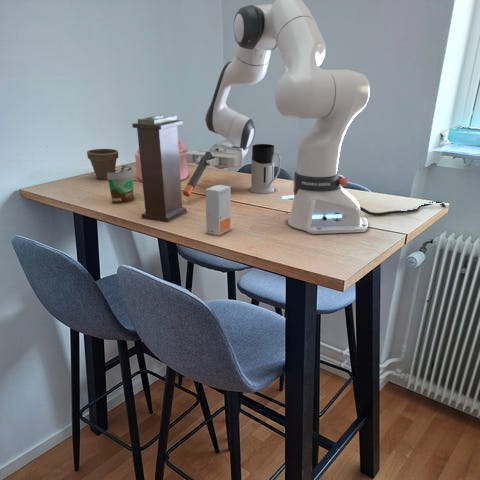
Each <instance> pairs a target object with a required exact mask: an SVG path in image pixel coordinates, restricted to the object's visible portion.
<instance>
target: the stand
mask: <svg viewBox="0 0 480 480" xmlns="http://www.w3.org/2000/svg"><path fill="white" fill-rule="evenodd" d="M131 125H132V129H136V132H137V140H138V149H139V152H140V162H141V172H142V180H141V182H142V190H143V191H142V192H143V201H144V209H145V211H144V212H143V213H141V219H145V220H152V221H157V222H165V223H169V222H171V221H172V220H174V219H176V218H179V217H180V216H181V215H183V214H185V213H187V209H188V208H187V207H183V198H182V197H183V193H182V180H181V178H180V162H179V145H178V140H179V132H178V126H182V125H184V120H183V119H182V120H179V119H178V116H177V115H169V116H165V117H164V114H158V115H153V116H146V117H142V118H137V122H135V123H132V124H131Z"/></svg>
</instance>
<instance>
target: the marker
mask: <svg viewBox="0 0 480 480" xmlns="http://www.w3.org/2000/svg"><path fill="white" fill-rule="evenodd" d="M211 157H212V154H211V153H210V152H206V153H205V155H204V157H203V158H202V160H201V162H200V164H199V165H197V166H196V168H195V171H193V173H192V176H191V177H190V179H189V181H188V183H187V184H186V186H185V188H184V189H183V191H182V196H184V197H187V198H188V197H190V196H191V195H192V193H193V191H194V189H195V187H196V186H197V184H198V182H199V180H200V179H201V176H202V175H203V173H204V171H205V169H206V168H207V167H208V166H207V165H206V161H207V160H210V159H211Z"/></svg>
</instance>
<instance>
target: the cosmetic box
mask: <svg viewBox="0 0 480 480" xmlns="http://www.w3.org/2000/svg"><path fill="white" fill-rule="evenodd" d="M231 188H232V187H231V186H228V185H223V184H217V185H212V186H210V187H208V188H205V227H206V229H205V231H206V234H209V235H213V236H221V235H222V234H225V233H227V232H229V231H231V228H232V227H231V222H232V221H231V217H232V216H231V210H232V208H231V205H232V204H231V199H232V194H231V192H232V191H231Z"/></svg>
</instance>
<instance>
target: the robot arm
mask: <svg viewBox="0 0 480 480" xmlns="http://www.w3.org/2000/svg"><path fill="white" fill-rule="evenodd" d="M234 15H235V16H234V19H233V36H234V39H235V42H236V47H235V51H234V56H233V59H232V60H230V61H229V60H228V61H227V62H226V63H225V64H224V66H223V68H222V70H221V71H220V75H219V77H218V79H217V84H216V86H215V90H214V92H213V96H212V99H211V102H210V105H209V107H208V108H207V111H206V114H205V117H204V118H205V119H204V121H205V125H206V127H207V130H208V131H210V132H212V133H215V134H217V135H219V136H222V137H224V138H225V140H223V141H219V142H217V143H214V144H213V145H211V147H210V148H209V149H207V150H206V149H193V150H189V151H188V150H187V152H186V153H185V160H186V162H187V164H192V165H197V166H198V165H199V164H200V162H201V160H202V158H203V157H204V155H205V153H206V152H210V153H211V154H212V157H211V159H210V160H207V161H206V165H207V166H206V167H208V166H209V167H214V168H216V169H217V170H225V169H229V168H232V169H237V168H238V169H239V168H243V167H244V160H245V157H246V156H247V154H248V151H249V148H250V147H251V145H252V143H253V141H254V138H255V135H256V127H255V123H254V119H252V118H250V117H249V116H247V115H244V114H242V113H241V112H238V111H236V110H235V109H232V108H230V106H228V105H227V100H228V97H229V94H230V91H231V88H232V86H233V87H234V86H242V87H247V86H253V85H256V84H258V83H260V82H262V80H263V79H264V78H265V76H266V74H267V71H268V69H269V64H270V60H271V56H272V51H279V53H280V56H281V59H282V62H283V64H284V68H285V71H284V73H283V75H282V76H281V77H280V78H279V79H278V81H277V83H276V86H275V88H274V103H275V106H276V108H277V109H276V110H278V112H279V114H281V116H283V117H286V118H289V119H290V118H291V119H295V120H296V119H297V120H310V119H316V120H315V122H314V125H313V127H312V128H311V130H310V131H309V132H308V133H306V134H305V135H304V136H303V137H301V138H300V140H299V142H298V144H297V154H296V155H297V156H296V169H295V172H294V176H293V183H292V185H293V186H292V187H293V188H292V189H293V194H292V195H283V196H281V199H282V200H284V199H285V200H286V199H292V205H291V209H290V212H289V216H288V219H287V224H288V225H289V226H290V227H292V228H294V229H298V230H301V231H304V232H306V233H309V234H312V235H322V234H323V235H324V234H327V235H328V234H347V233H350V234H351V233H364V232H366V231H367V230H368V228H369V224H368V220H367V218H365V217H364V216H363V215H362V213H365V214H366V215H369V216H377V217H378V216H380V217H381V216H387V215H388V216H389V215H394V214H395V215H396V214H409V213H414V212H416V211H418V210H420V209H421V208H423V207H429V206H433V205H434V204H425V203H423V204H424V205H421V206H419V207H418V208H417V209H414V208H412V209H413V210H409V209H406V210H407V211H401V210H402V209H399V210H389V211H382V212H381V211H380V212H374V211H370V210H368V209H365V208H364V207H361V206H360V203H359V201H358V200H357V199H356V198H355V197H354V196H353V195H352V194H350V192H349V191H347V190H346V189H345V188H344V187H346V185H348V180H347V178H346V177H345V176H344V175H342V174H341V173H339V172H338V168H339V161H340V160H339V159H340V154H341V153H340V152H341V149H342V143H343V140H344V137H345V135H346V132H347V130H348V129H349V126H350V125H351V124H352V121H353V120H354V119H355V118H356V117H357V115H359V113H361V112H362V111H363V110H364V109H365V108H366V106H367V103H368V102H369V98H370V94H371V88H370V82H369V80H368V78H367V77H366V75H365V74H363V73H362V72H358V71H356V70H352V69H345V68H344V69H326V68H325V69H323V68H321V67H320V66H321V65H322V64H323V61H324V59H325V57H326V52H327V45H326V41H325V40H324V37H323V35H322V33H321V31H320V29H319V27H318V25H317V22H316V19H315V18H314V16H313V14H312V13H311V11H310V9H309V8H308V6H307V5H306V3H305V2H304V1H303V0H274V2H273V3H267V4H257V5H254V4H249V5H245V6H242V7H240V8H239V9H238V10H237V12H236V13H235V14H234ZM431 202H432V203H433V202H436V203H442V204H439V205H440V207H442V208H446V204H445V203H444V202H443V201H439V200H434V201H428V203H431ZM426 303H430V300H426Z"/></svg>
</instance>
